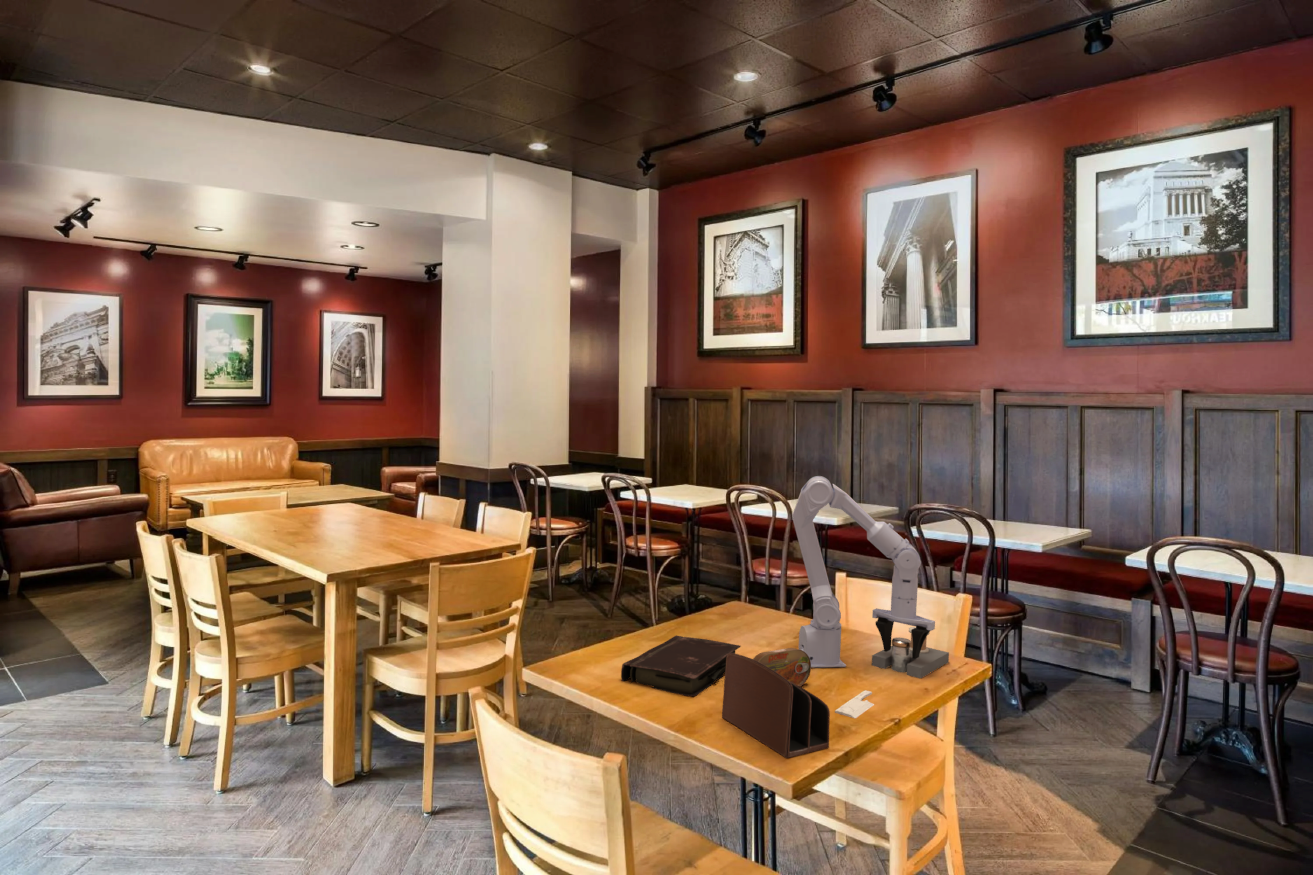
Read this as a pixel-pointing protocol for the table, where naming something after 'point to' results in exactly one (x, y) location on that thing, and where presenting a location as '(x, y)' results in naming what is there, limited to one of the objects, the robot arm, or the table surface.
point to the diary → (680, 665)
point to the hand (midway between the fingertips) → (901, 653)
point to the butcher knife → (855, 705)
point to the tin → (787, 664)
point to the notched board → (915, 660)
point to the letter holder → (773, 708)
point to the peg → (900, 654)
